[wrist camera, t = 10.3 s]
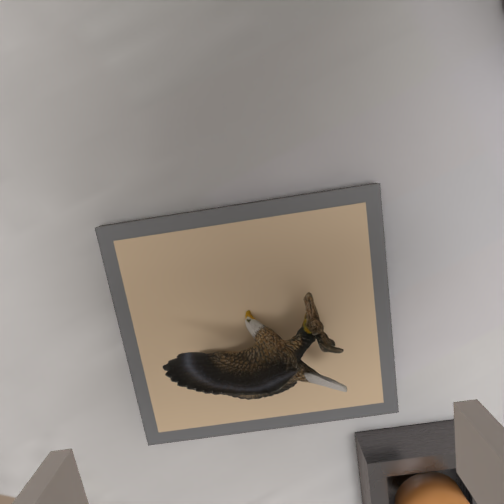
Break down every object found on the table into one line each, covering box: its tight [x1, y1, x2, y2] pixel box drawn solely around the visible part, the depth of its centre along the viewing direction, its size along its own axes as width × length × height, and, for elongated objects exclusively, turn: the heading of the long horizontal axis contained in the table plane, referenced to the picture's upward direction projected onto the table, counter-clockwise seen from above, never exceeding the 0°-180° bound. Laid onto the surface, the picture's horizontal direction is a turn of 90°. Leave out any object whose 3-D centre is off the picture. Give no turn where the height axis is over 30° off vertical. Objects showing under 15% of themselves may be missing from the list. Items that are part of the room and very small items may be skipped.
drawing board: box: [95, 183, 399, 445], centre depth 25 cm, size 18×16×1 cm
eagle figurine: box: [163, 292, 347, 400], centre depth 22 cm, size 8×7×9 cm
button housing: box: [355, 420, 477, 504], centre depth 26 cm, size 8×8×3 cm
